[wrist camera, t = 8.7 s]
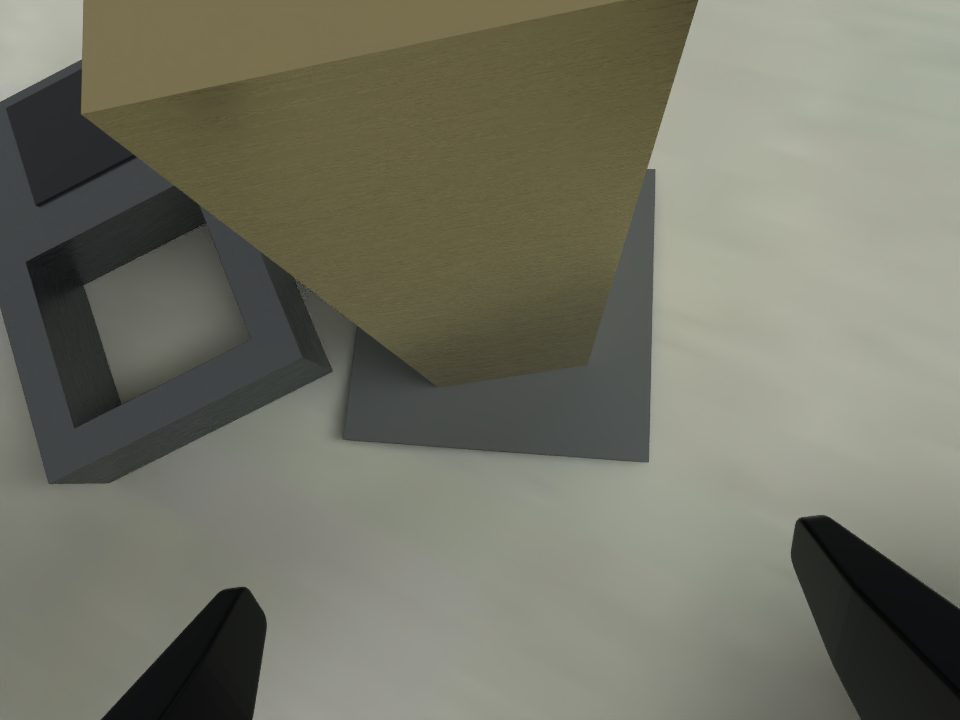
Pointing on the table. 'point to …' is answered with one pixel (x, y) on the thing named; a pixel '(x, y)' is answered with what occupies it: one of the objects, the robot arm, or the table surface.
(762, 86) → the table surface
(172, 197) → the grey tray
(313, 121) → the tan rectangular block
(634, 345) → the rubber pad
